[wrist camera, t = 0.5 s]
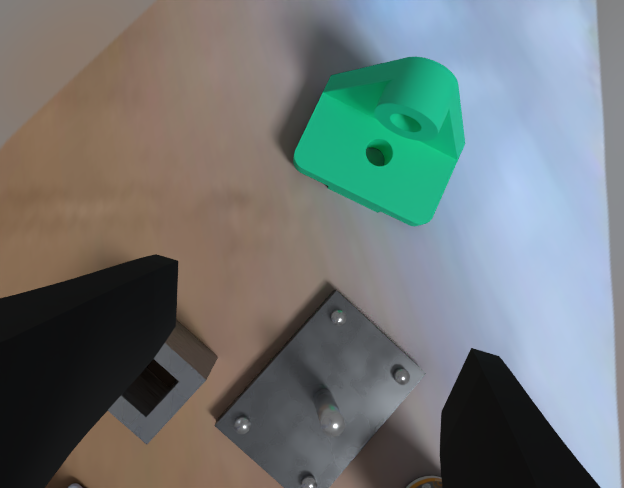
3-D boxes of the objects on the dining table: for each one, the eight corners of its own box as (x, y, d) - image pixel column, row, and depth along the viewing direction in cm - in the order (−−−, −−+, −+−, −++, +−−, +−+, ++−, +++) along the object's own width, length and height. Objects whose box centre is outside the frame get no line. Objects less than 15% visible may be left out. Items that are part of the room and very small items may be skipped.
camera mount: (288, 169, 34) (295, 130, 23) (326, 89, 34) (350, 16, 24) (415, 231, 35) (476, 219, 24) (450, 152, 35) (524, 108, 25)
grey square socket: (169, 409, 32) (146, 444, 26) (118, 363, 31) (82, 388, 25) (218, 357, 32) (206, 380, 26) (167, 311, 32) (143, 324, 26)
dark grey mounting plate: (308, 502, 33) (317, 557, 27) (216, 420, 32) (203, 457, 26) (421, 370, 34) (453, 394, 28) (334, 289, 33) (348, 296, 27)
